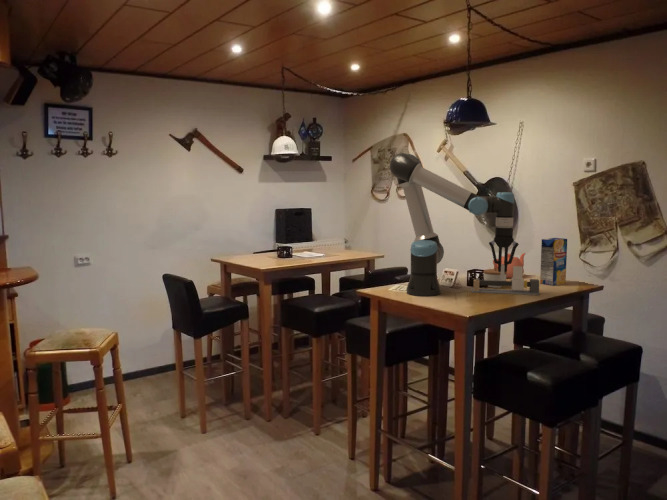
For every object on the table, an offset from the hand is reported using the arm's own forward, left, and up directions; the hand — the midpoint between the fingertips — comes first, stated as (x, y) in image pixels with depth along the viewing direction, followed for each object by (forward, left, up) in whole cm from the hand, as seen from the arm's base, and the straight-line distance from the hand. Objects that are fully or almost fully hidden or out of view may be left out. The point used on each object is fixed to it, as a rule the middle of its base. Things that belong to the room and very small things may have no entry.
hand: (502, 278), depth 239 cm
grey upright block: (+7, 0, -4) cm, 8 cm away
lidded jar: (-2, +13, -6) cm, 15 cm away
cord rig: (+1, 0, -6) cm, 6 cm away
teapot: (+7, +45, -6) cm, 46 cm away
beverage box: (+26, +27, -6) cm, 38 cm away
